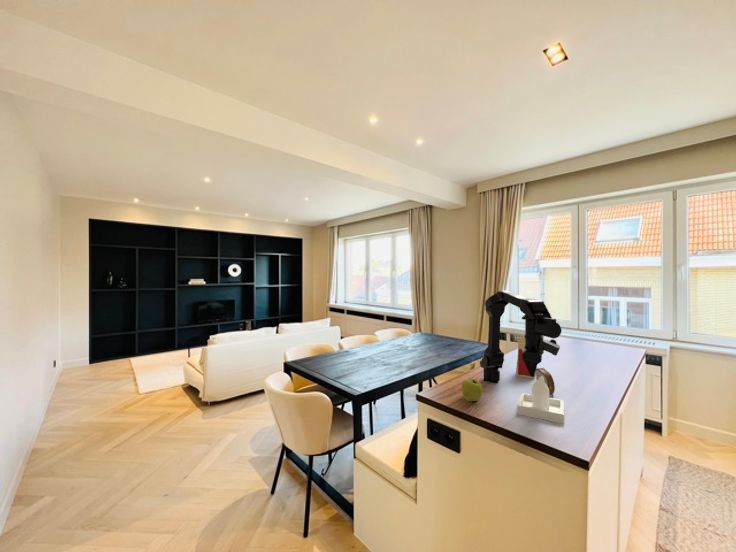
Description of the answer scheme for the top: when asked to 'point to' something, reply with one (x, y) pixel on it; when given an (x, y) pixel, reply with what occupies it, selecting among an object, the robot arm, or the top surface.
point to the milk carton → (521, 367)
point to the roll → (540, 394)
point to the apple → (471, 390)
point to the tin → (546, 378)
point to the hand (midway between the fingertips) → (533, 373)
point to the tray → (552, 414)
